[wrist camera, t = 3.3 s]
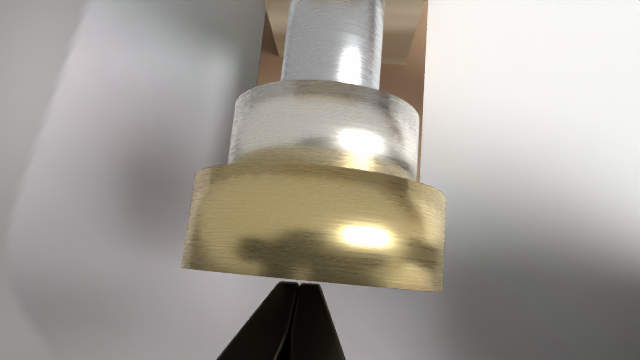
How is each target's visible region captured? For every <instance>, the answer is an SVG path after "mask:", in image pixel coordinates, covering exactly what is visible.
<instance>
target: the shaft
mask: <svg viewBox="0 0 640 360" xmlns="http://www.w3.org/2000/svg"><path fill="white" fill-rule="evenodd" d="M384 10H385V0H290V5H289V13H288V22H287V31H286V39H285V48H284V57H283V65H282V74H281V81H277V82H270V83H266V84H262V85H259V86H256V87H253V88H250V89H248V90H246V91H245V92H243V93H242V94H241V95H240V96H239V97H238V98H237V100H236V103H235V111H234V118H233V126H232V133H231V140H230V148H229V155H228V163H227V164H224V165H218V166H212V167H208V168H205V169H202V170H200V171H198V172H197V173H196V174H195V180H194V187H193V194H192V201H191V207H190V214H189V221H188V227H187V234H186V241H185V248H184V254H183V261H182V268H187V269H195V270H205V271H214V272H224V273H234V274H244V275H254V276H265V277H275V278H286V279H296V280H307V281H318V282H329V283H340V284H351V285H362V286H373V287H385V288H396V289H408V290H421V291H434V292H443V268H444V240H445V212H446V197H445V195H444V194H443V193H442V192H440V191H439V190H437V189H435V188H433V187H431V186H428V185H425V184H423V183H420V182H416V178H417V158H418V138H419V115H418V113H417V111H416V110H415V109H414V108H413V107H412V106H411V105H410V104H408V103H407V102H405V101H404V100H402V99H400V98H398V97H396V96H394V95H391V94H389V93H386V92H383V91H381V90H379V82H380V68H381V53H382V39H383V24H384Z"/></svg>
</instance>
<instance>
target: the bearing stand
mask: <svg viewBox="0 0 640 360" xmlns="http://www.w3.org/2000/svg"><path fill="white" fill-rule="evenodd" d="M264 3H265V7H266V16H265V24H264V32H263V39H262V47H261V55H260V63H259V71H258V79H257V86H259V85H262V84H266V83H270V82H277V81H281V74H282V65H283V57H284V48H285V39H286V31H287V22H288V13H289V5H290V0H264ZM427 11H428V0H385V10H384V24H383V39H382V53H381V68H380V82H379V90H381V91H383V92H386V93H389V94H391V95H394V96H396V97H398V98H400V99H402V100H404V101H405V102H407V103H408V104H410V105H411V106H412V107H413V108H414V109H415V110H416V111H417V113H418V115H419V138H418V158H417V178H416V182H419V178H420V157H421V136H422V115H423V94H424V74H425V53H426V32H427Z"/></svg>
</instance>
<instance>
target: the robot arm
mask: <svg viewBox="0 0 640 360" xmlns="http://www.w3.org/2000/svg"><path fill="white" fill-rule="evenodd" d="M216 360H346V359H345V356H344V353H343V350H342V347H341V344H340V341H339V338H338V336H337V333H336V330H335V327H334V324H333V321H332V318H331V315H330V312H329V309H328V306H327V303H326V300H325V297H324V295H323V292H322V289H321V286H320V285H319V284H312V283H301V284H300V286H299V284H298V283H297V282H286V281H281V282H279V283H278V284H277V285H276V286H275V287H274V289H273V290H272V291H271V292H270V294H269V295H268V296H267V297H266V299H265V300H264V301H263V302H262V304H261V305H260V306H259V307H258V308H257V310H256V311H255V312H254V313H253V315H252V316H251V317H250V318H249V320H248V321H247V322H246V323H245V325H244V326H243V327H242V328H241V330H240V331H239V332H238V333H237V335H236V336H235V337H234V338H233V339H232V341H231V342H230V343H229V344H228V346H227V347H226V348H225V349H224V351H223V352H222V353H221V354H220V356H219V357H218V358H217V359H216Z"/></svg>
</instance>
